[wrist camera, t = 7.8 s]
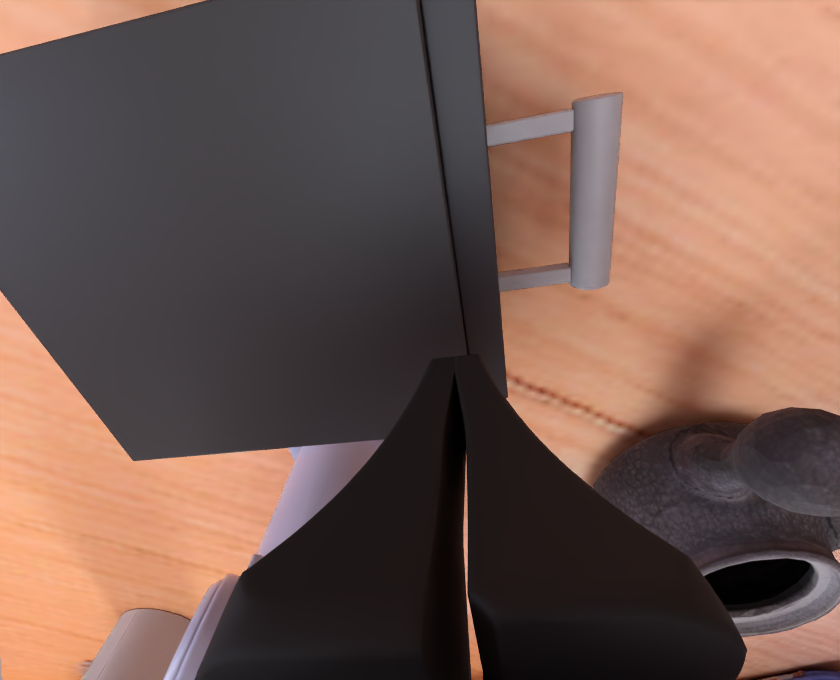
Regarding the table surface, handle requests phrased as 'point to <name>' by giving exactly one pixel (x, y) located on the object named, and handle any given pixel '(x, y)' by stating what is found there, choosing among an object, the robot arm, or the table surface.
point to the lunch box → (808, 675)
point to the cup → (139, 646)
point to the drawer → (471, 187)
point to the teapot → (745, 510)
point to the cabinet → (232, 221)
